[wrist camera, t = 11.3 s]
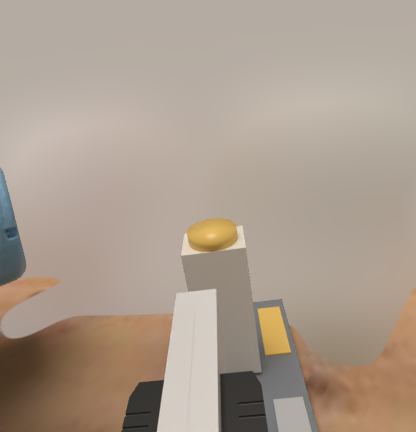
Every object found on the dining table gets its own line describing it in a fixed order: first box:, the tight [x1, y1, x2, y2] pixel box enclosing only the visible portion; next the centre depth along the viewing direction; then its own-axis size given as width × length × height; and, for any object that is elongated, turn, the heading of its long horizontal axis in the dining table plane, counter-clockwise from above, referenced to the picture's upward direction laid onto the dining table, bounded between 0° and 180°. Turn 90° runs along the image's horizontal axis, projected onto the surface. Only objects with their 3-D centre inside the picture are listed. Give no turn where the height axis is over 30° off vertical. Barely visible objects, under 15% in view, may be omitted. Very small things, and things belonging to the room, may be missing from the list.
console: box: [253, 299, 318, 432], centre depth 34 cm, size 22×12×2 cm, turn 179°
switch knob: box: [181, 218, 262, 373], centre depth 33 cm, size 4×5×14 cm
